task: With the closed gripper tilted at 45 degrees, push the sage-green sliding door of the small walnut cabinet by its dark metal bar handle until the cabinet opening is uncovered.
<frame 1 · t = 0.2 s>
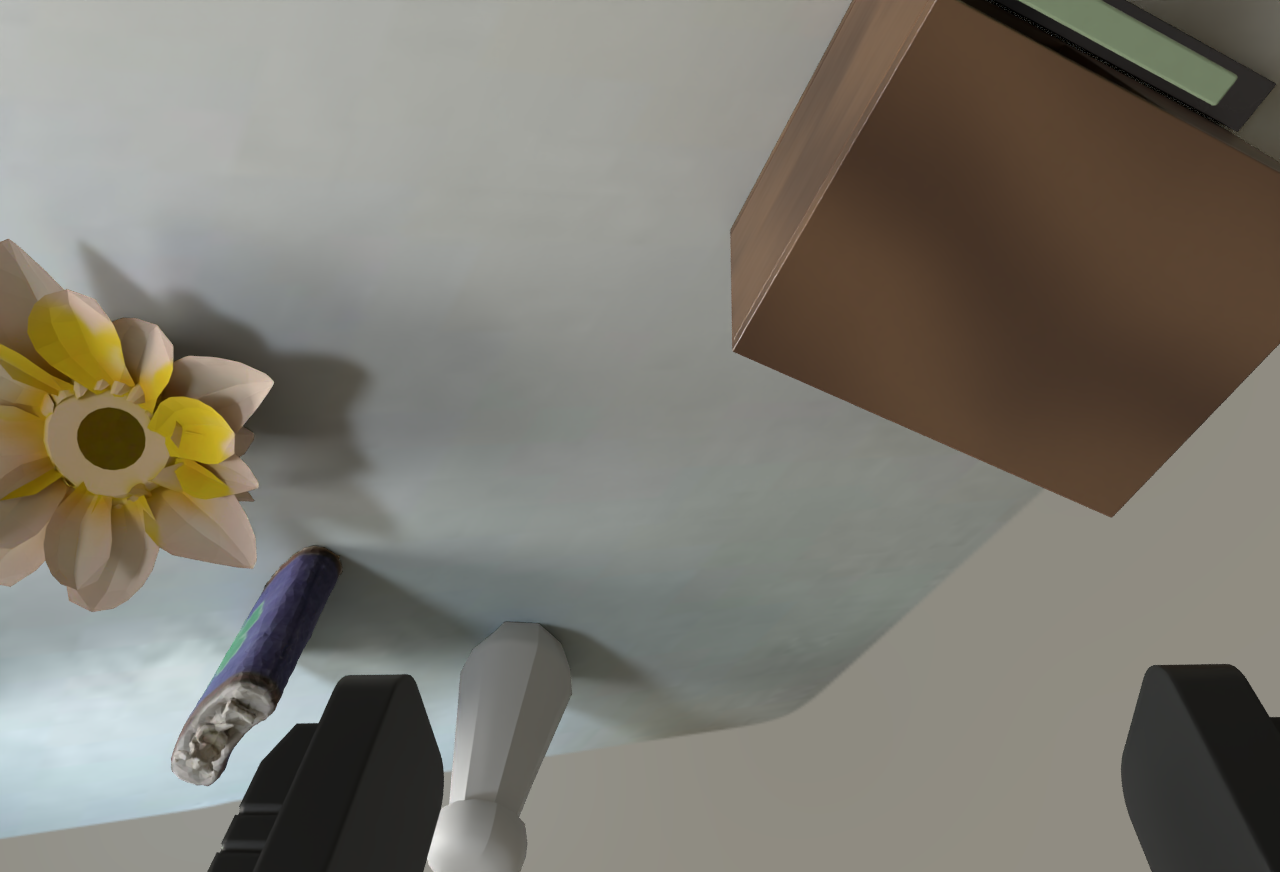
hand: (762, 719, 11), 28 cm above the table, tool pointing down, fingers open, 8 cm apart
flask: (293, 596, 50), on the table
salt shaker: (525, 645, 51), on the table
decorative flower: (166, 388, 43), on the table
cabinet: (964, 181, 35), on the table
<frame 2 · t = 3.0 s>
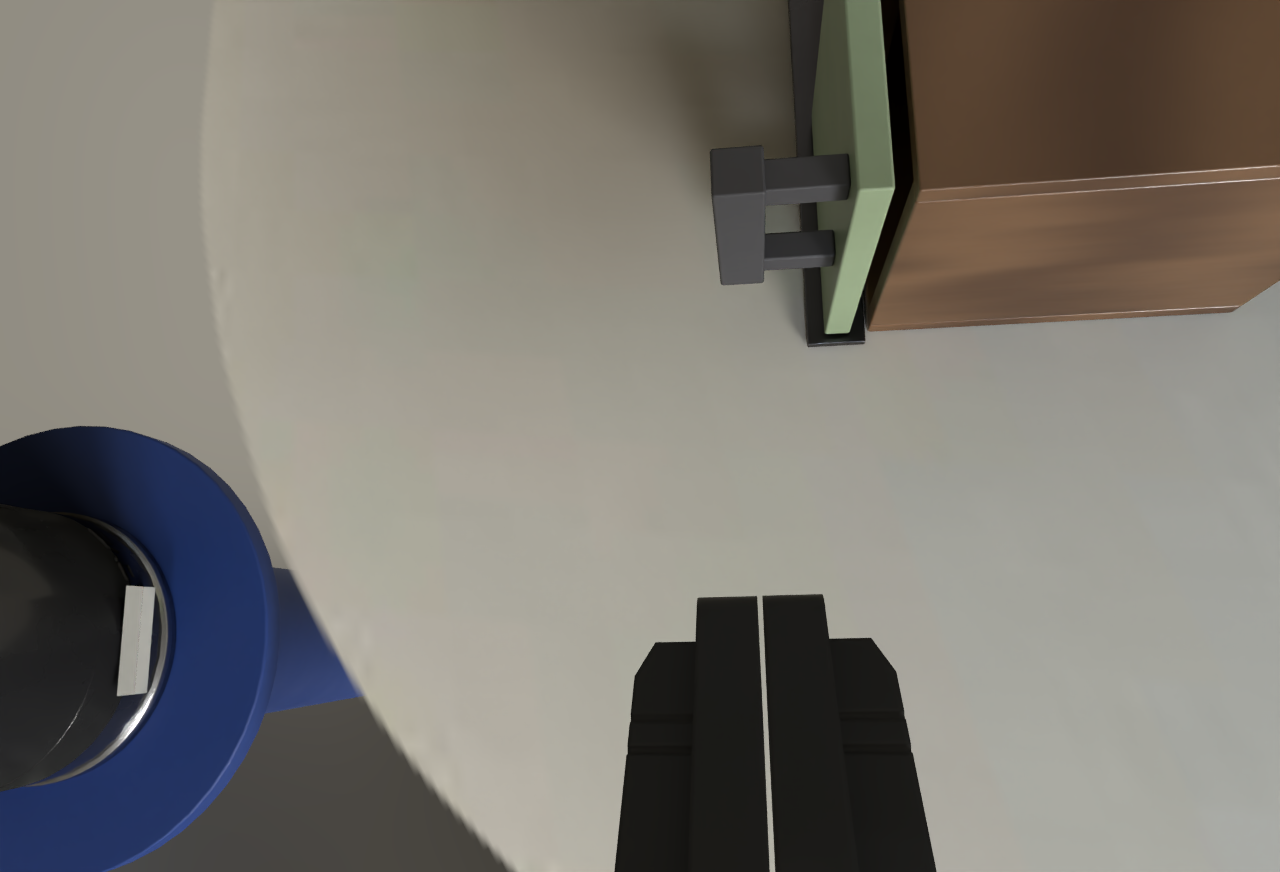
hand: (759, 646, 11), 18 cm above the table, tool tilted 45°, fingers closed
sliding door: (786, 148, 26), point 6 cm above the table, slide at 0.0 cm
cabinet: (1023, 119, 31), on the table
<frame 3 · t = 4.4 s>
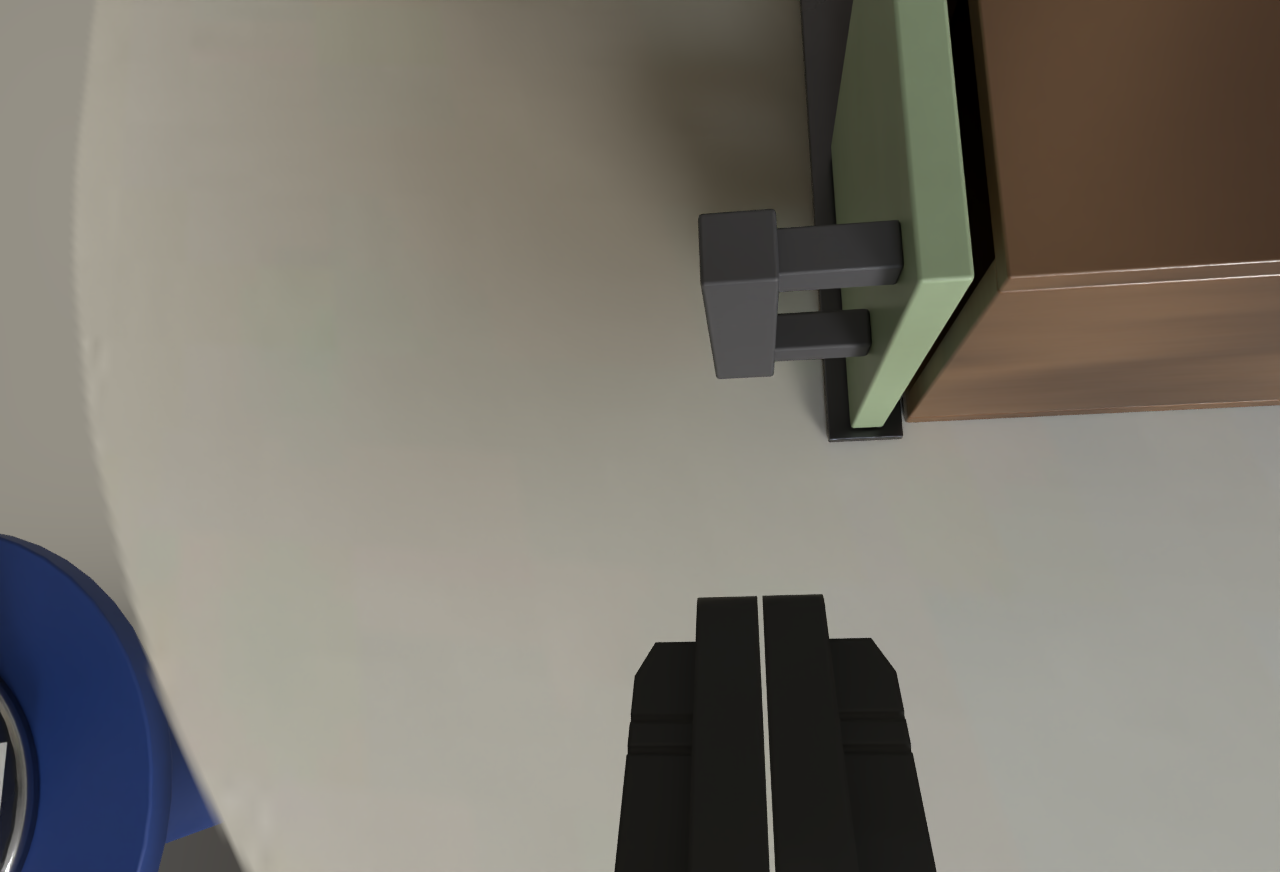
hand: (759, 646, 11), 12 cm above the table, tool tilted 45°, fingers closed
sliding door: (803, 198, 19), point 6 cm above the table, slide at 0.0 cm
cabinet: (1100, 149, 24), on the table
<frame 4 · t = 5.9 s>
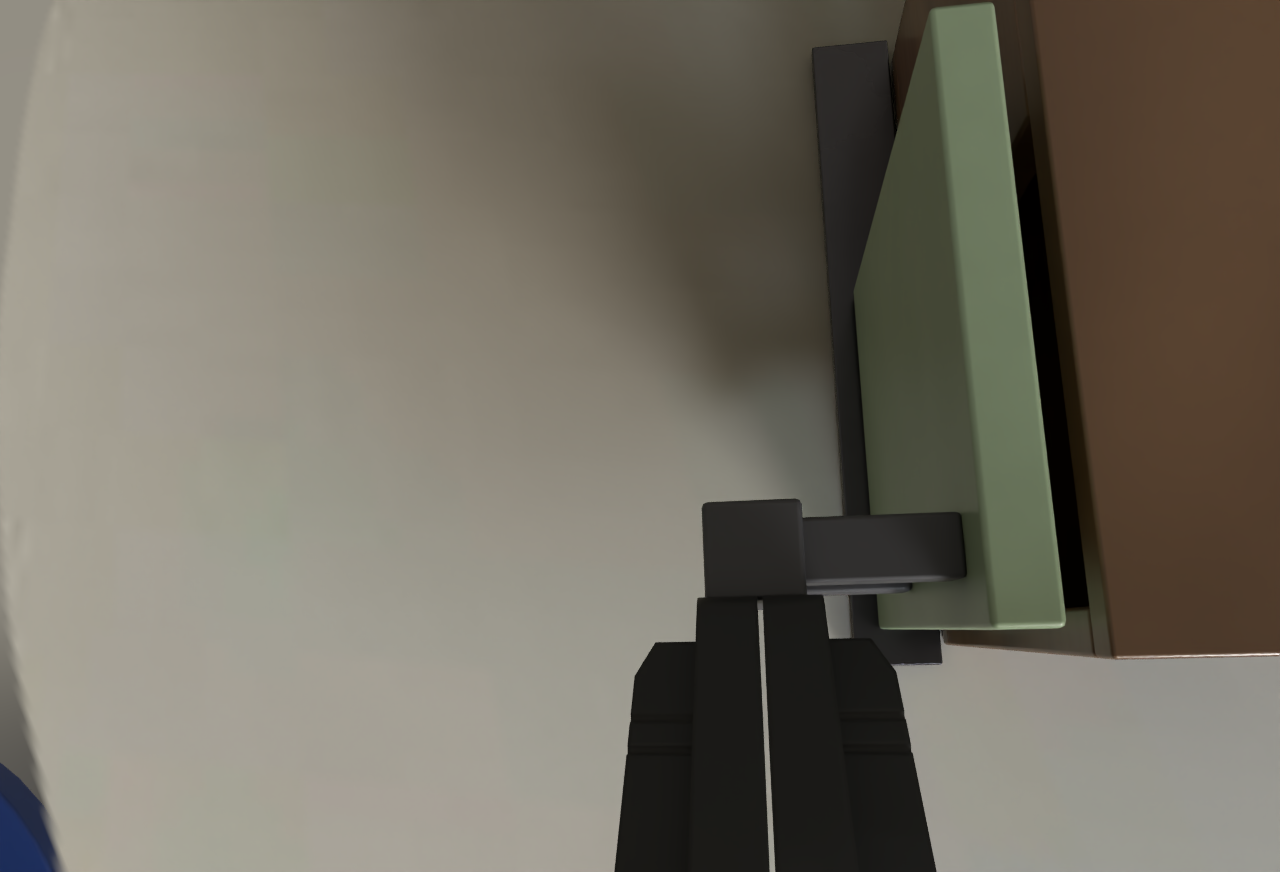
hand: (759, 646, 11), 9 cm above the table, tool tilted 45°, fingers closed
sliding door: (827, 402, 16), point 6 cm above the table, slide at 0.6 cm, touching gripper
cabinet: (1168, 317, 21), on the table
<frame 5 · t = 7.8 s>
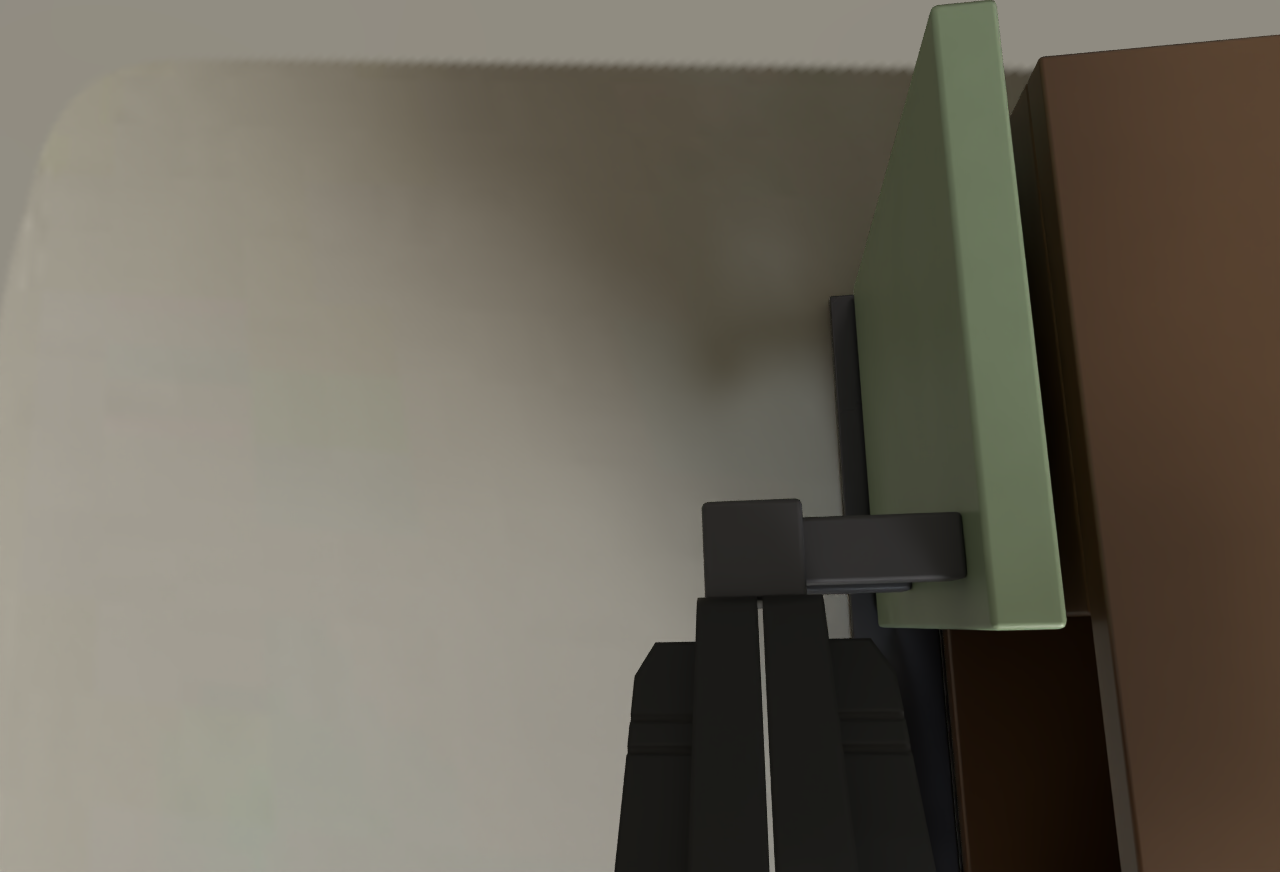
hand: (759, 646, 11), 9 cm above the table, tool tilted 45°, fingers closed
sliding door: (827, 400, 16), point 6 cm above the table, slide at 7.1 cm, touching gripper
cabinet: (1211, 613, 20), on the table
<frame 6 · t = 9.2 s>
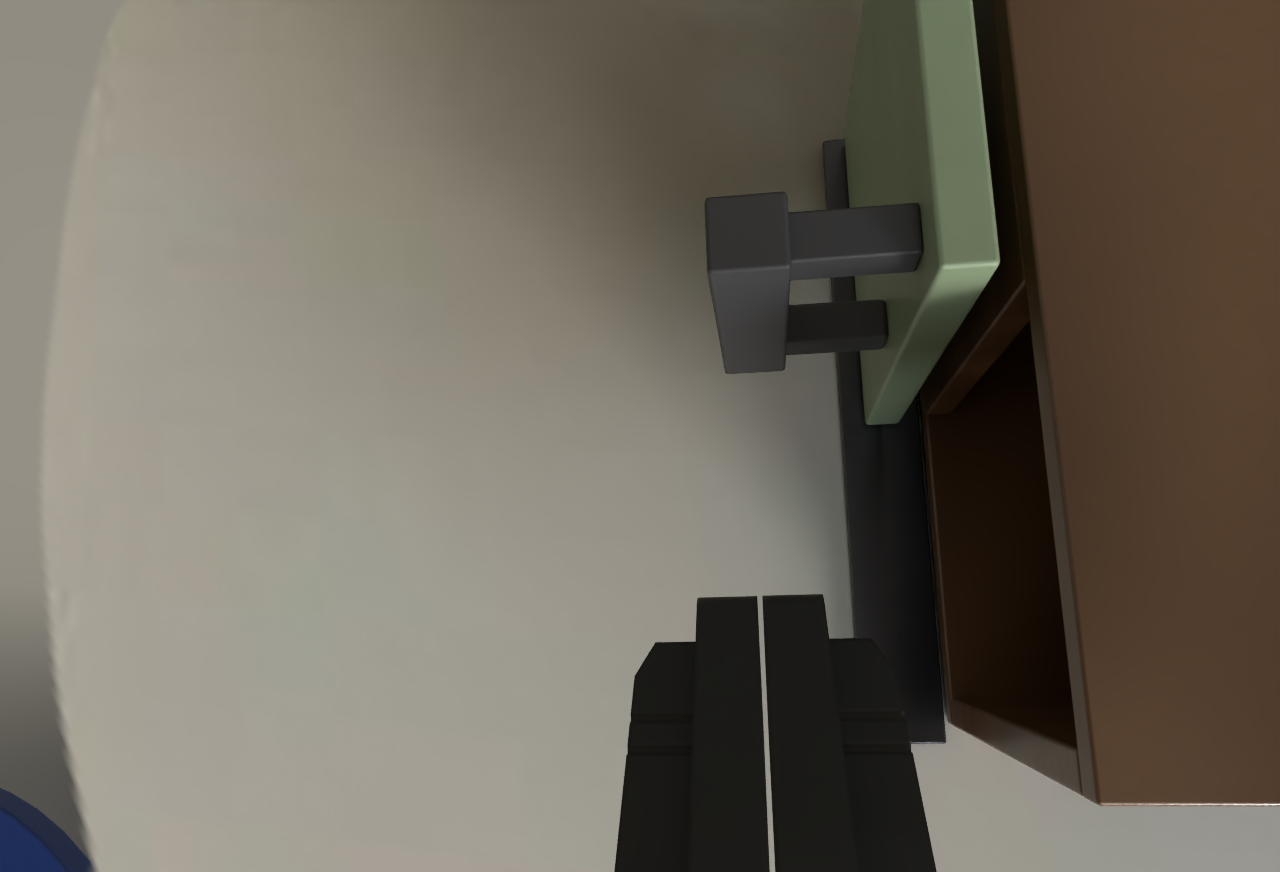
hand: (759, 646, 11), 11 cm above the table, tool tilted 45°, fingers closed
sliding door: (815, 183, 18), point 6 cm above the table, slide at 7.0 cm
cabinet: (1163, 408, 22), on the table
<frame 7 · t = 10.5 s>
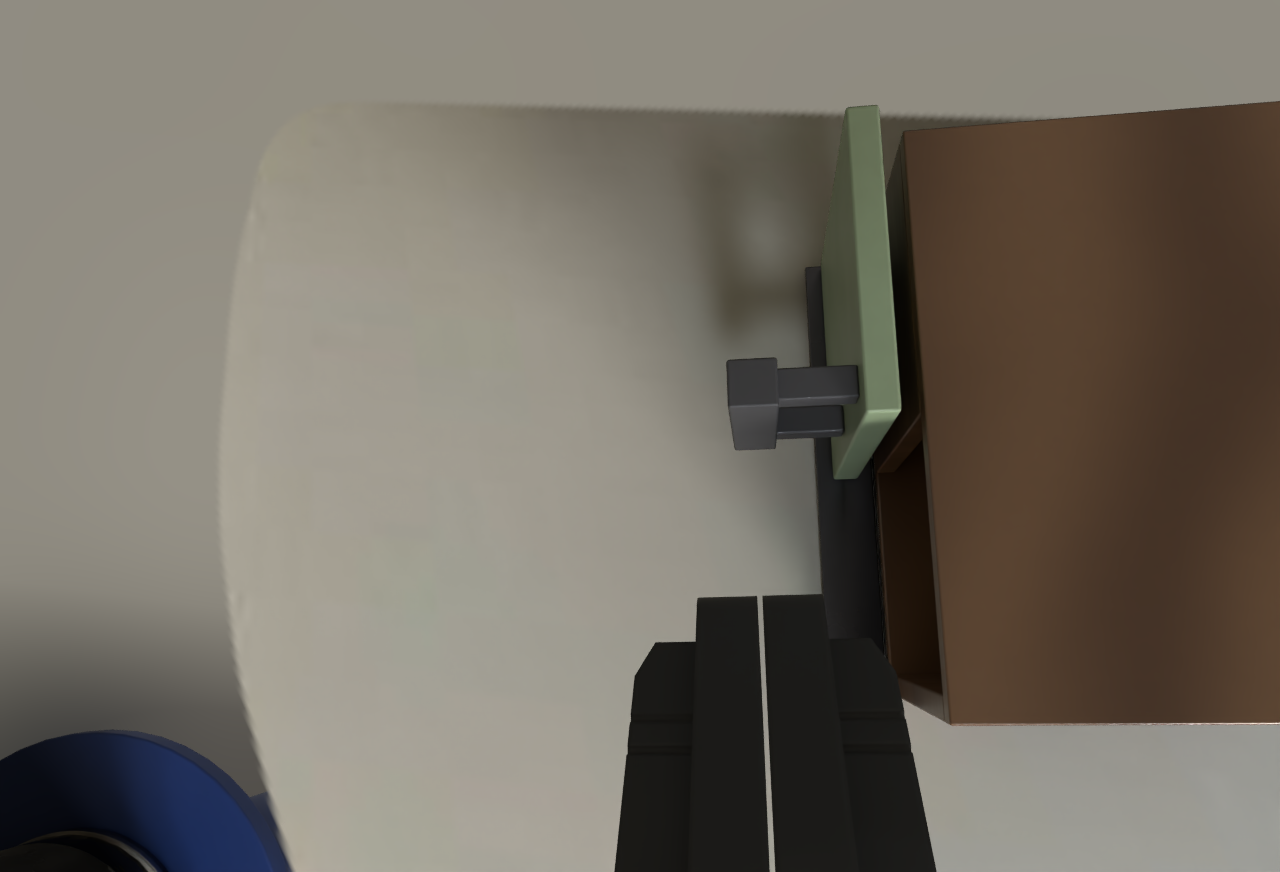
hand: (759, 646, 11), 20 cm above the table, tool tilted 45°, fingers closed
sliding door: (797, 324, 27), point 6 cm above the table, slide at 7.0 cm
cabinet: (1046, 469, 31), on the table
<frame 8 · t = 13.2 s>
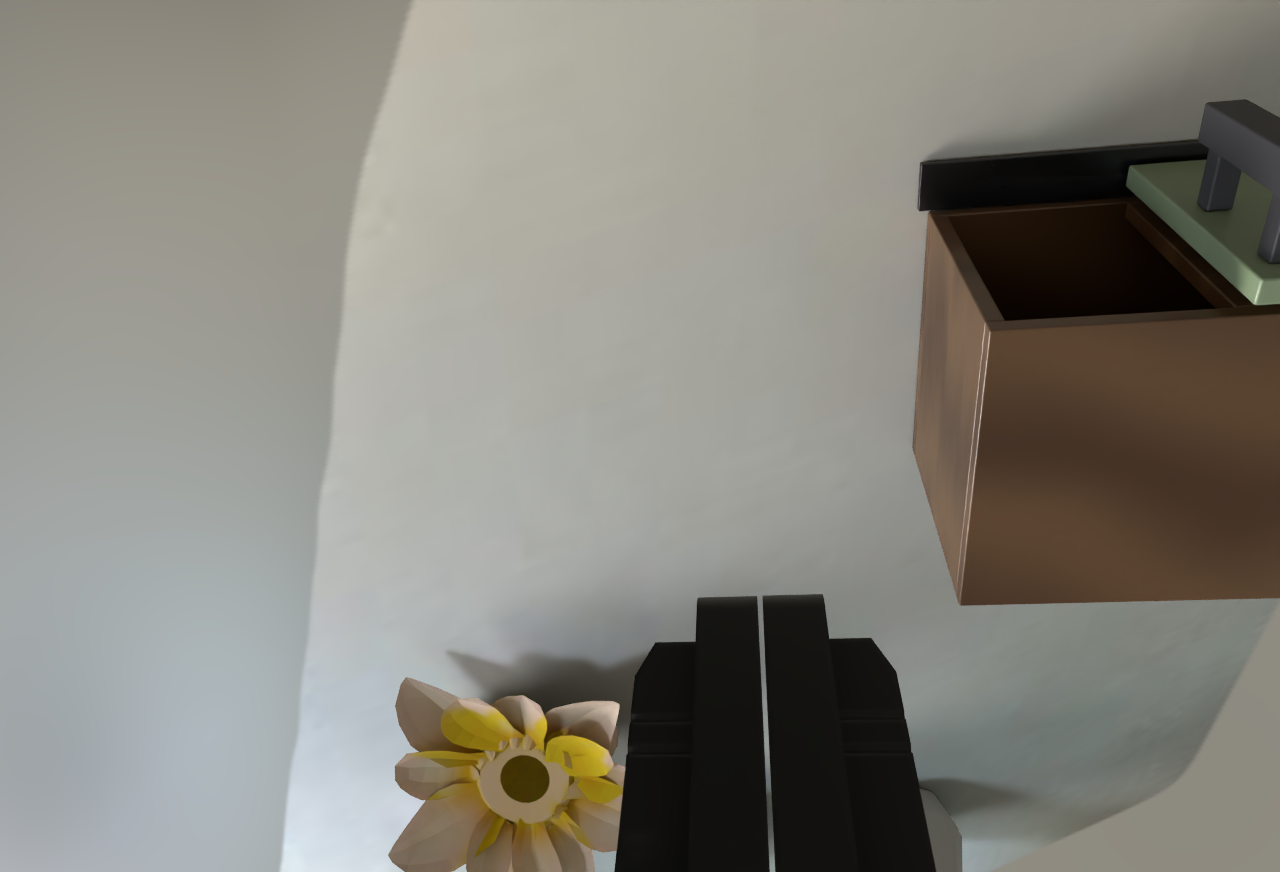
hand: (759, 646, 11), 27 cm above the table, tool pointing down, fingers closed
salt shaker: (901, 802, 56), on the table
decorative flower: (542, 719, 54), on the table
cabinet: (1097, 328, 38), on the table
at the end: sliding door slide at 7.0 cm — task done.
